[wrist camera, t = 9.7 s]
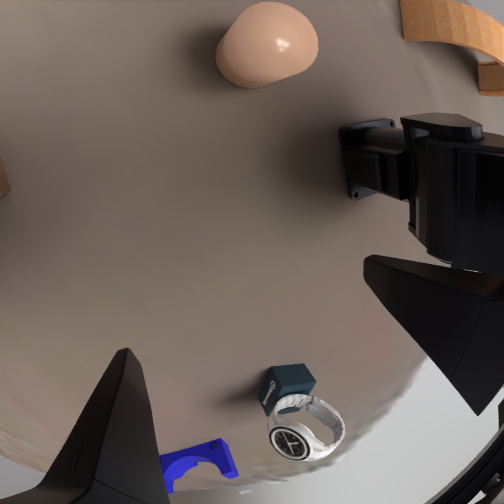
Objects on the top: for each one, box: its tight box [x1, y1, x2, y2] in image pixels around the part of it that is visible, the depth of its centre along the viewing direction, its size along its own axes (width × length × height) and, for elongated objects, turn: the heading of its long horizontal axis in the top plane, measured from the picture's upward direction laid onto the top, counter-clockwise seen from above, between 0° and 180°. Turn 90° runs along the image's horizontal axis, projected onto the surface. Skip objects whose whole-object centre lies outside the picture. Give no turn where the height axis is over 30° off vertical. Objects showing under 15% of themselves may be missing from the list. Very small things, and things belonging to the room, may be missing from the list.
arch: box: [400, 0, 504, 97], centre depth 16 cm, size 6×20×10 cm, turn 87°
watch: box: [258, 364, 345, 461], centre depth 25 cm, size 6×8×11 cm
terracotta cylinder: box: [215, 2, 318, 88], centre depth 14 cm, size 5×5×5 cm
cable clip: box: [159, 438, 239, 494], centre depth 30 cm, size 12×4×6 cm, turn 106°
